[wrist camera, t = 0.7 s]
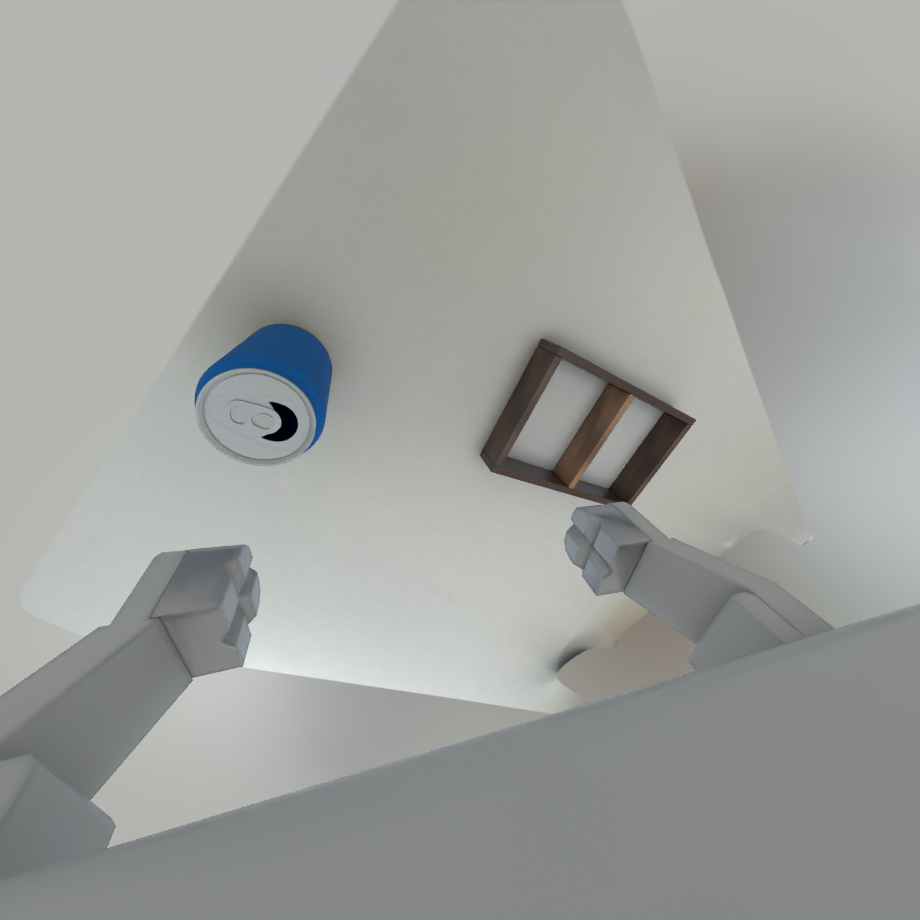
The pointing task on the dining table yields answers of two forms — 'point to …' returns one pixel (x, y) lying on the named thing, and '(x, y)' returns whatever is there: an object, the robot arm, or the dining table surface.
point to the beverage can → (266, 396)
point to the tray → (583, 432)
